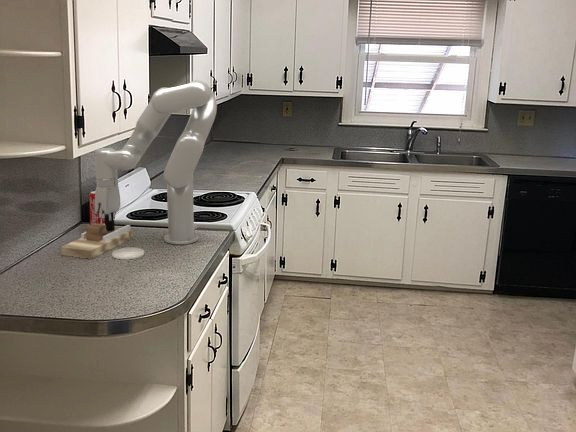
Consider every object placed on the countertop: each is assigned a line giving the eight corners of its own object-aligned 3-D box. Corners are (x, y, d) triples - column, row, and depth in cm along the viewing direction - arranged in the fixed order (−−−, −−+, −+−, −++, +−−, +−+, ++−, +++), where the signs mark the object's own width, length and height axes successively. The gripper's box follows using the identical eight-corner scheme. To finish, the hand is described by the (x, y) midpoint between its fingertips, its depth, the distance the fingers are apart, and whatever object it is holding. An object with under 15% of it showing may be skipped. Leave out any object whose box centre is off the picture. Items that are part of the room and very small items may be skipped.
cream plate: (123, 248, 234) (123, 245, 234) (150, 251, 231) (150, 249, 231) (105, 257, 224) (105, 255, 224) (133, 261, 221) (133, 259, 221)
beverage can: (88, 231, 253) (85, 193, 249) (93, 226, 260) (91, 189, 256) (103, 231, 253) (100, 194, 249) (108, 226, 260) (106, 190, 256)
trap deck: (106, 234, 250) (105, 221, 248) (132, 238, 246) (132, 225, 245) (61, 254, 226) (60, 241, 225) (90, 259, 222) (89, 245, 221)
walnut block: (95, 236, 237) (94, 223, 236) (106, 237, 236) (105, 224, 234) (86, 240, 233) (85, 226, 231) (98, 241, 231) (97, 228, 230)
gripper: (110, 177, 245) (112, 223, 250) (86, 185, 231) (89, 234, 236) (127, 179, 242) (129, 226, 247) (103, 187, 229) (106, 236, 234)
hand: (109, 230), depth 242 cm, fingers closed
